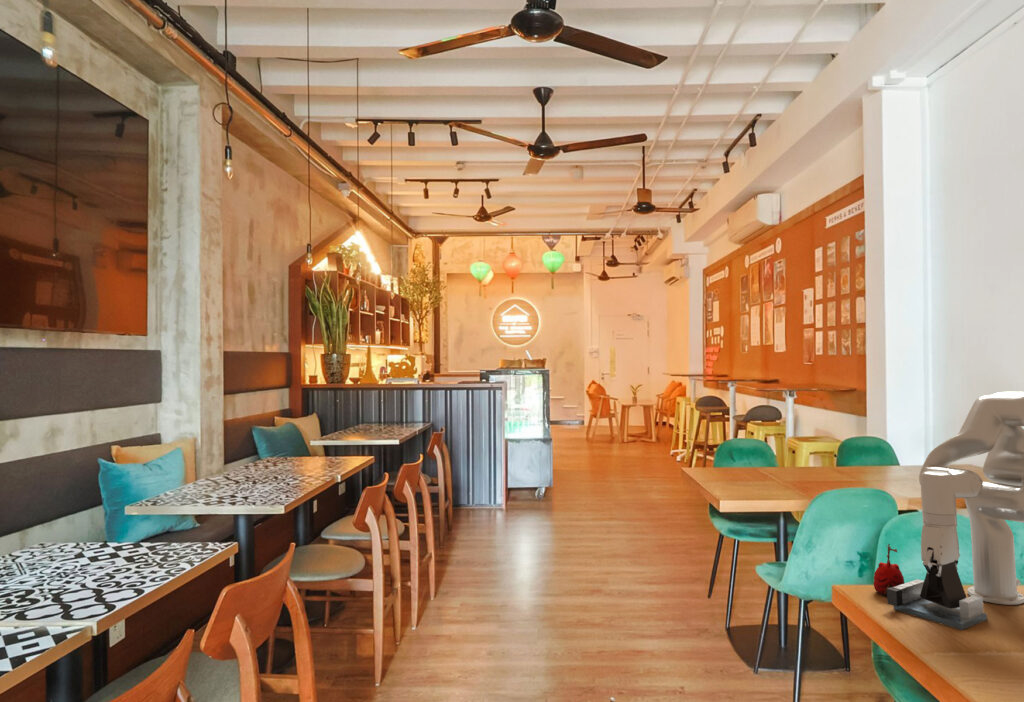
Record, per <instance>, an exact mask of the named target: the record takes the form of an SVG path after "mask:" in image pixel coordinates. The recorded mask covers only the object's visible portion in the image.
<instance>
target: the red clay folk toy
mask: <svg viewBox="0 0 1024 702" xmlns="http://www.w3.org/2000/svg"><path fill="white" fill-rule="evenodd" d="M885 546H886V548H887V554H886V558H887V561H886V562H882V561H880V562H879V563H878V567H877V568H876V570H875V571H874V574H873V587H874V588H873V589H874V590H875V591H876V593H878V594H879V595H881V596H884V597H887V588H890V587H895V586H898V585H901V584H905V579H904V576H903V573H902V571H901V570H900V565H899V564H897V563H891V560H890V558H891V557H890V552H891V551H893V552H895V553H898V549H897V548H895V549H893V548H891V546H890V543H888V544H886V545H885Z"/></svg>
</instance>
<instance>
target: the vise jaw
mask: <svg viewBox="0 0 1024 702" xmlns="http://www.w3.org/2000/svg"><path fill="white" fill-rule="evenodd" d="M923 583H924V580H921V579H914V580H911V581H909V582H904V584H901V585H898V586H895V587H890V588H887V596H886V599H887V605H890V606H893V607H894V606H896V607H898V606H901V605H903V604H905V603H908V602H910V601H913V600H916V599H919V598H921V597H920V594H921V590H922V587H923Z"/></svg>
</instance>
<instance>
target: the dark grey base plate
mask: <svg viewBox="0 0 1024 702" xmlns="http://www.w3.org/2000/svg"><path fill="white" fill-rule="evenodd" d="M959 605H960V607H958V608H952V609H949V608H947V607H944V606H941V605H939V604H936V603H933V602H931V601H928V600H925V599H923V598H919V599H916V600H913V601H910V602H908V603H905V604H903V605H901V606H898V607H896V606H893V609H894V611H898V612H902V613H904V612H905V614H908V615H911V614H912V615H911V616H914V615H915V617H917V616H918V618H921V619H923V620H928V621H931V622H934V623H936V624H941V625H945V626H947V627H951V628H953V629H957V630H960V631H963V630H965V629H967V628H971V627H973V626H976V625H978V624H980V623H983V622H985V621H987V620H988V615H987V613H985V612H984V601H983V597H979V596H975V595H973V596H970V595H969V596H968V597H967V598H965V599H962V600H960V601H959Z"/></svg>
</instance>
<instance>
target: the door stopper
mask: <svg viewBox="0 0 1024 702" xmlns="http://www.w3.org/2000/svg"><path fill="white" fill-rule="evenodd" d="M933 563H937V560H936V561H933ZM933 567H934V568H935V569H936V570H937V566H933ZM924 577H925V578H924V580H923V581H924V583H923V587H922V590H921V594H920V597H921V598H923V599H925V600H928V601H931V602H933V603H936V604H939V605H941V606H944V607H947V608H949V609H952V608H958V607H960V605H959V601H960V600H962V599H965V598H968V597H967V594H966V590H964V589H965V588H964V586H963V583H962V581H961V578H960V575H959V572H958V570H957V569H956V559H955V561H954V562H951V563H949V564H945V565H942V569H941V577H942V578H943V581H942V588H943V592H937V591H933V590H930V589H929V579H928V574H927V572H926V573H925V576H924Z"/></svg>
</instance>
